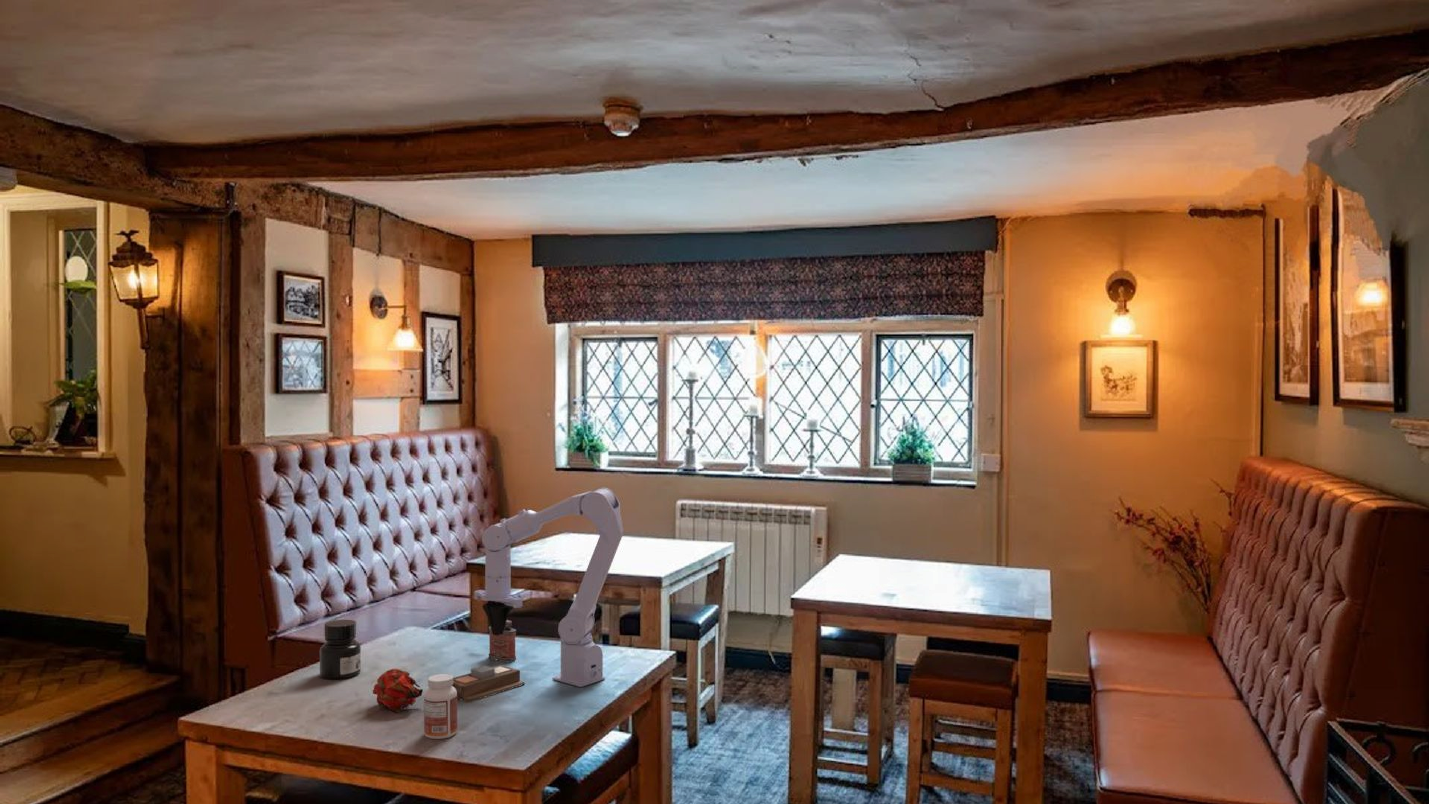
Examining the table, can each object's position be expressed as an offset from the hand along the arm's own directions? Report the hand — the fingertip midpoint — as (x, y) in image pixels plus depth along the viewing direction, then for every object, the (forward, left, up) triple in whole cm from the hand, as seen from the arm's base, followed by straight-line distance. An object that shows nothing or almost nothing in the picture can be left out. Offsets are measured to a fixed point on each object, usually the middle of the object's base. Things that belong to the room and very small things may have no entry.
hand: (497, 634), depth 227 cm
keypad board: (-5, +8, -10) cm, 14 cm away
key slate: (-5, +8, -8) cm, 12 cm away
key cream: (-5, +4, -9) cm, 11 cm away
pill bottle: (-21, +31, -10) cm, 39 cm away
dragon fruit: (-1, +27, -10) cm, 29 cm away
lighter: (+10, -10, -10) cm, 17 cm away
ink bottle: (+29, +22, -10) cm, 38 cm away
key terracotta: (-5, +13, -9) cm, 16 cm away
